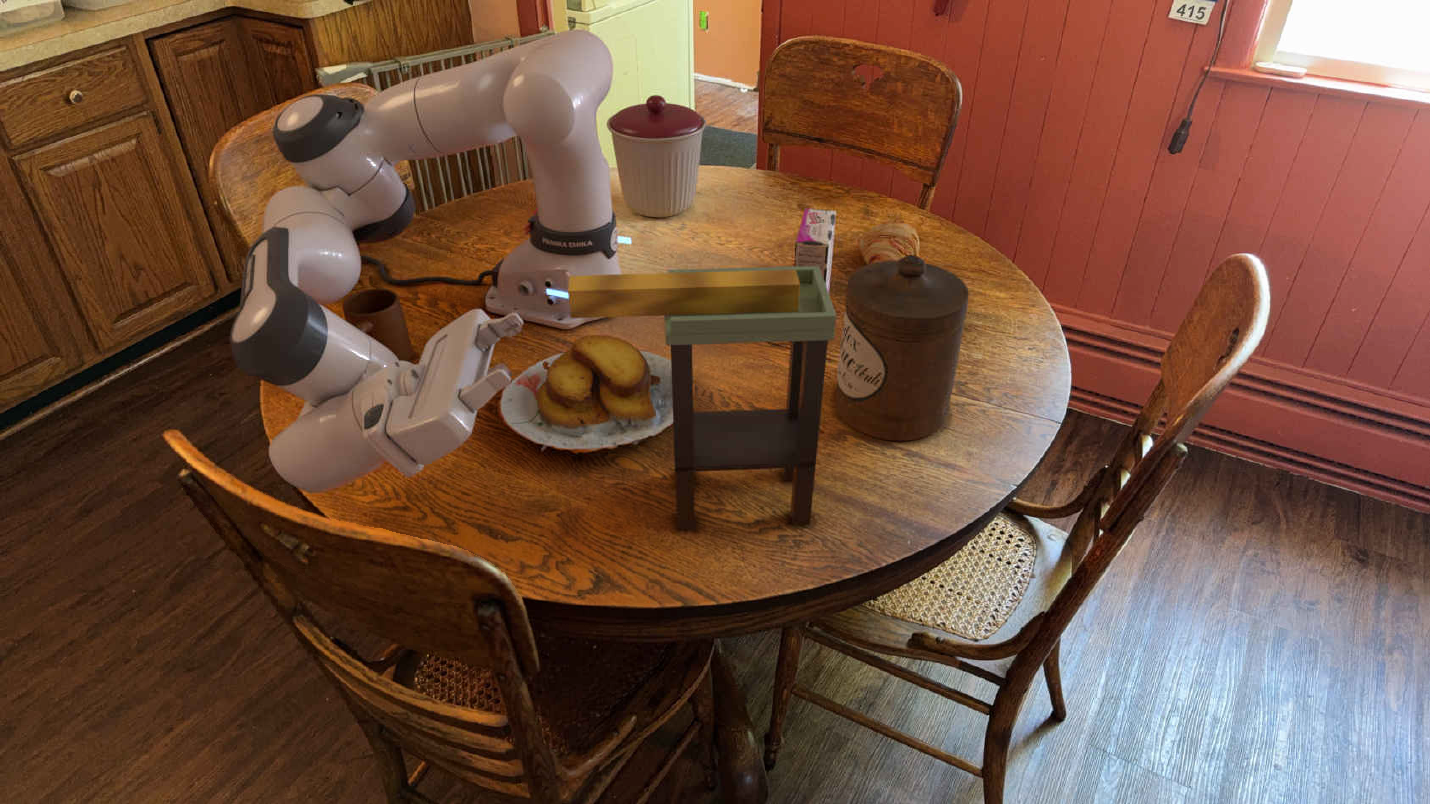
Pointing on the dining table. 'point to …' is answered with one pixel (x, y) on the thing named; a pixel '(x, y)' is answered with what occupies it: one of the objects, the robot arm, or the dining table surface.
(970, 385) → the dining table surface
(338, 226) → the robot arm
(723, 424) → the stand
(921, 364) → the wooden container
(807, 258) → the candy bar box
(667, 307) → the batten
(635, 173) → the canister
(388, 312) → the mug
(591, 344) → the food on plate
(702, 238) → the dining table surface
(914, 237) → the croissant
